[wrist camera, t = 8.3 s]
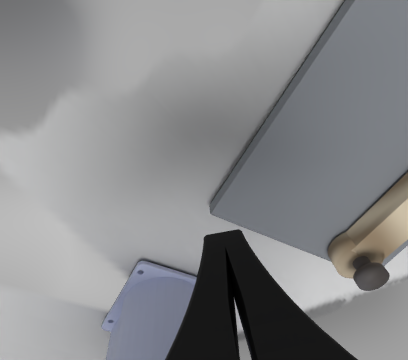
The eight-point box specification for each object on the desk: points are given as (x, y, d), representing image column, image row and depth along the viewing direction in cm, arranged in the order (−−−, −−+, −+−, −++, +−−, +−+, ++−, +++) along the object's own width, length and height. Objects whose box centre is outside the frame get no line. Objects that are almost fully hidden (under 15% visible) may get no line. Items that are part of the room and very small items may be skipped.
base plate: (365, 268, 27) (371, 277, 26) (209, 205, 22) (210, 214, 21) (534, 113, 20) (550, 118, 19) (363, -28, 15) (375, -30, 14)
